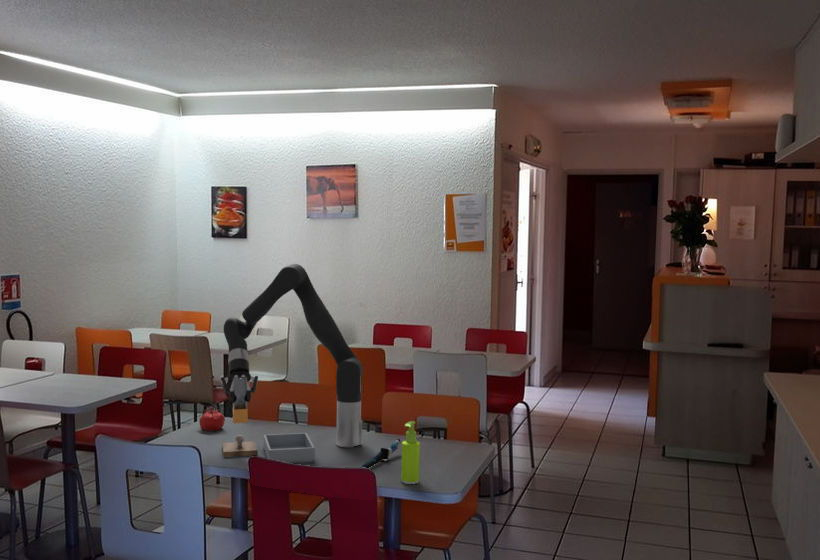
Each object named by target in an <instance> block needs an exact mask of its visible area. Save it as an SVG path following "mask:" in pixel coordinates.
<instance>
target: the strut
mask: <svg viewBox="0 0 820 560" xmlns="http://www.w3.org/2000/svg"><path fill="white" fill-rule="evenodd" d="M233 384H234V403H233V406H232V421H233V422H232V423H233V424H244V423H248V422H249V421H248V420H249V419H248V418H249V416H248V415H249V414H248V412H249V410H248V403H247V378H246V377H235V378H233Z"/></svg>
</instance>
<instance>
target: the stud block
mask: <svg viewBox="0 0 820 560" xmlns="http://www.w3.org/2000/svg"><path fill="white" fill-rule="evenodd" d="M244 440H245V437H244V436H243V435H241V434H238V435H236V436H235V441H234V442H222V444H221V448H222V456H223V458H229V457H228V456H241V457H253V456H252V455H258V447H257V444H256V441H255V440H254V441H244ZM258 456H259V455H258Z"/></svg>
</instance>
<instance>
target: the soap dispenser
mask: <svg viewBox="0 0 820 560" xmlns="http://www.w3.org/2000/svg"><path fill="white" fill-rule="evenodd" d="M415 424H416V421H412V420H411V421H407V422H406V423H404V427H406V428H408V430H407V431H405V440H403V441H402V442H401V468H400V469H401V472H400V473H401V475H400V476H401V477H400V480H401V479H402V480H403V481H407V482H416V481H418V480H419V481H420V460H421V459H420V456H421V455H420V453H421V452H420V451H421V449H420V448H421V443H420V441H418V440H417V431H415V428H414V427H415Z"/></svg>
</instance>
